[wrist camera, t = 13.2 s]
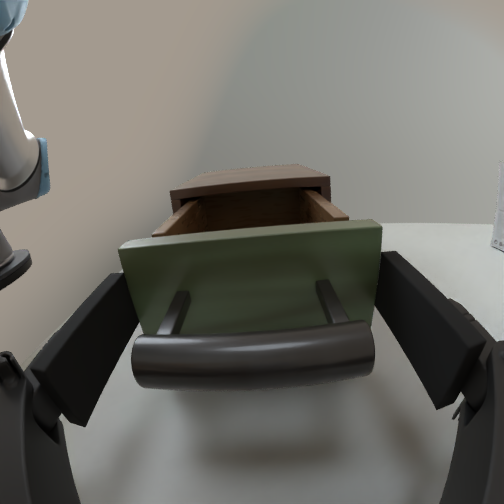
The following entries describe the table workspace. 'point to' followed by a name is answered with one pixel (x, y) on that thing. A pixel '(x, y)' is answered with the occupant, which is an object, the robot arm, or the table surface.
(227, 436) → the table surface
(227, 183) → the cabinet
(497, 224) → the cosmetic box
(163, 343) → the drawer
